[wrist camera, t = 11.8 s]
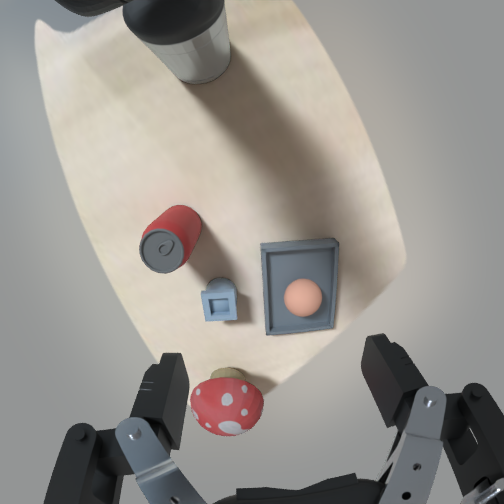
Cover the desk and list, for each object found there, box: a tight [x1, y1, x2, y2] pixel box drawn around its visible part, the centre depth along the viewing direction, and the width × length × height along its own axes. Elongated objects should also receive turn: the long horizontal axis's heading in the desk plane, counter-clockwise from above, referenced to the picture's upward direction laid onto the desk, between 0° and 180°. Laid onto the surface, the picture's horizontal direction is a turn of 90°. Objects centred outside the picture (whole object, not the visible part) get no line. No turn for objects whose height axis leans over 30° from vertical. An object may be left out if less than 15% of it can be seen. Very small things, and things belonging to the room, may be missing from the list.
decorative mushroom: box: [190, 368, 264, 436], centre depth 47 cm, size 13×13×15 cm
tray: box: [260, 238, 339, 335], centre depth 46 cm, size 16×12×2 cm
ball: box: [284, 279, 322, 317], centre depth 43 cm, size 6×6×6 cm
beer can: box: [139, 205, 202, 273], centre depth 37 cm, size 7×7×12 cm
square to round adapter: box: [201, 278, 237, 321], centre depth 45 cm, size 5×5×5 cm
